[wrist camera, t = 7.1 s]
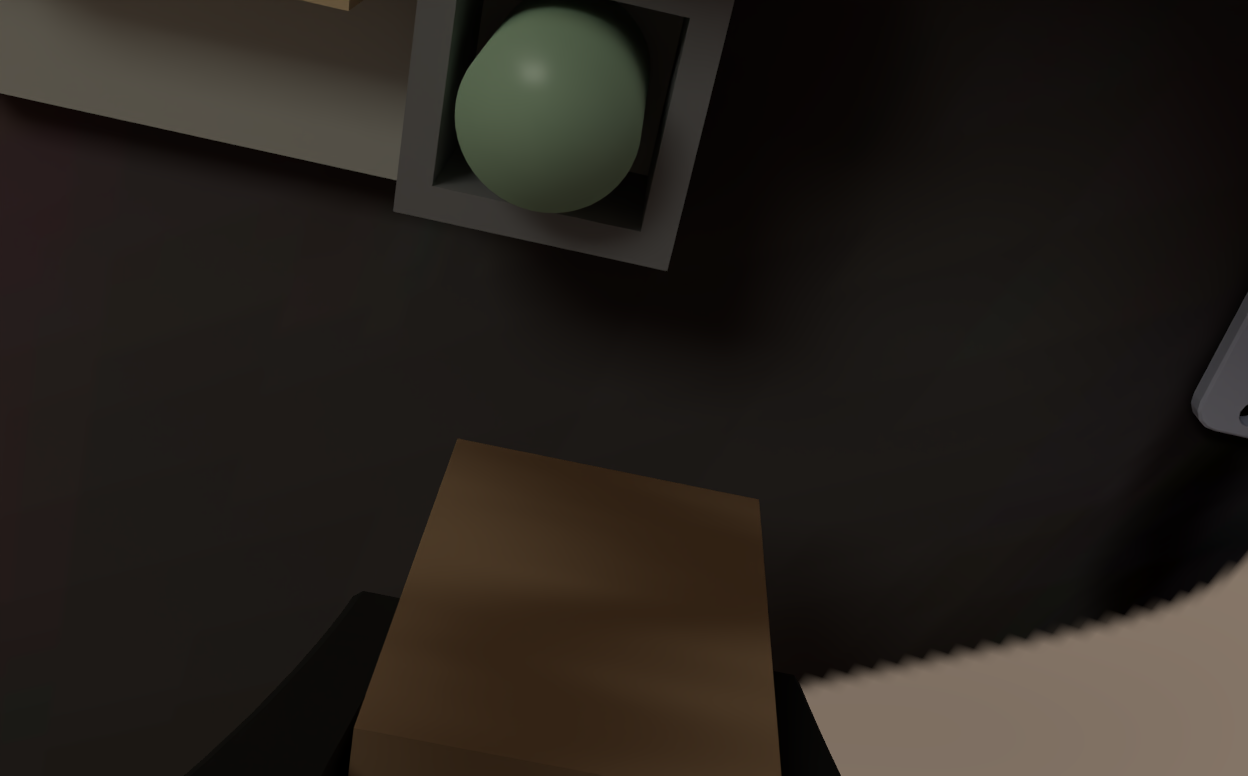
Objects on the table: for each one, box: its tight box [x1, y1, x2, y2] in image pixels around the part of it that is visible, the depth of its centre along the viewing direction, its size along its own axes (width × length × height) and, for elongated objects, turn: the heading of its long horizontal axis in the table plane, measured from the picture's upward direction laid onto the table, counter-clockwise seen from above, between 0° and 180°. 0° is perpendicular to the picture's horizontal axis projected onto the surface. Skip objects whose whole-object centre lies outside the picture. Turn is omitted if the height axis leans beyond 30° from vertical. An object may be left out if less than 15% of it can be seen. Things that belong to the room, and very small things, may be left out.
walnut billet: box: [348, 439, 781, 776], centre depth 13 cm, size 4×4×5 cm
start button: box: [455, 0, 651, 213], centre depth 16 cm, size 2×2×3 cm
